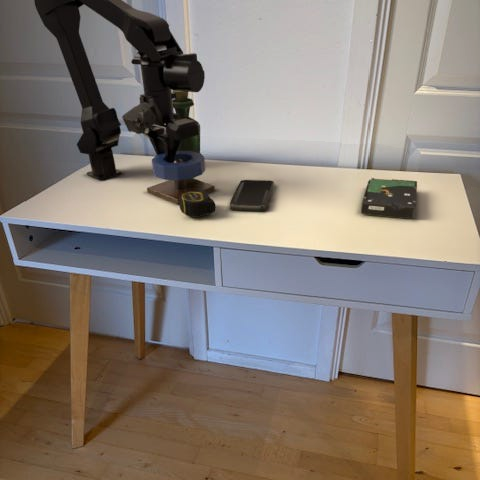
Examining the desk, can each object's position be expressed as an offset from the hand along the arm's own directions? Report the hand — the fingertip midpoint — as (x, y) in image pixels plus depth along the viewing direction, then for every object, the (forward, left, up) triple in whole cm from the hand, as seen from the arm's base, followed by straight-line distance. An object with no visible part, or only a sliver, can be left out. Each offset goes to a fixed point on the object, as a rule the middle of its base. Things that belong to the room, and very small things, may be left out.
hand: (166, 163), depth 112 cm
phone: (+19, +8, -6) cm, 22 cm away
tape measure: (+16, -5, -6) cm, 18 cm away
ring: (+4, 0, -1) cm, 5 cm away
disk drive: (+43, +24, -6) cm, 50 cm away
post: (+4, 0, -6) cm, 7 cm away
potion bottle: (-9, +13, -6) cm, 17 cm away
